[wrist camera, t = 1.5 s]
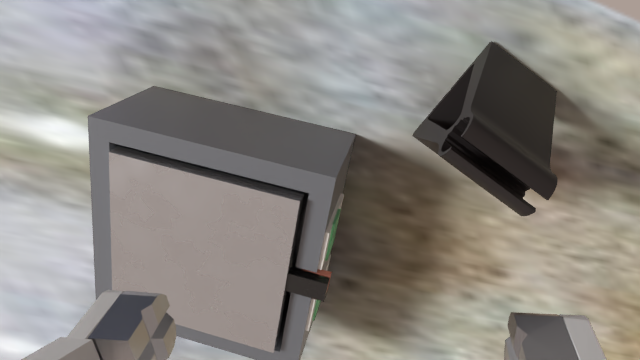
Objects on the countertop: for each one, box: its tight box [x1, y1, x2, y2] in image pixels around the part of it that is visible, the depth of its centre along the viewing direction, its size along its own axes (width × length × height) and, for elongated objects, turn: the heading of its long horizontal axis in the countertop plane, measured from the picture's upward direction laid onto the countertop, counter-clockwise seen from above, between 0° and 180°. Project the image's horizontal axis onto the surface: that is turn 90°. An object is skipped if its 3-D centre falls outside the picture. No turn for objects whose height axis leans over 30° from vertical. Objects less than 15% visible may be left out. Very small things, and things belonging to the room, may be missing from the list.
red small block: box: [301, 269, 332, 293], centre depth 37 cm, size 2×2×1 cm
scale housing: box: [88, 86, 356, 360], centre depth 41 cm, size 18×18×9 cm
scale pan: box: [109, 146, 330, 353], centre depth 37 cm, size 17×14×1 cm
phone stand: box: [413, 41, 557, 216], centre depth 32 cm, size 9×6×12 cm, turn 146°
